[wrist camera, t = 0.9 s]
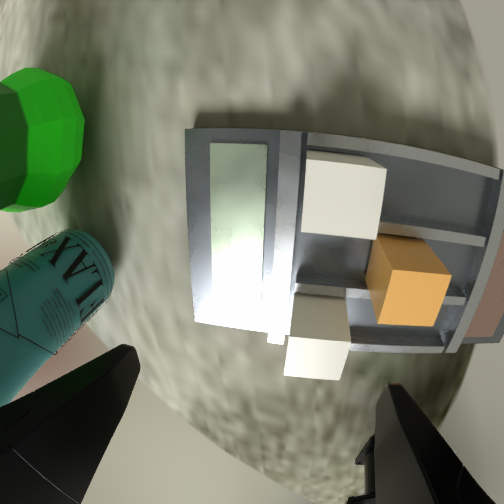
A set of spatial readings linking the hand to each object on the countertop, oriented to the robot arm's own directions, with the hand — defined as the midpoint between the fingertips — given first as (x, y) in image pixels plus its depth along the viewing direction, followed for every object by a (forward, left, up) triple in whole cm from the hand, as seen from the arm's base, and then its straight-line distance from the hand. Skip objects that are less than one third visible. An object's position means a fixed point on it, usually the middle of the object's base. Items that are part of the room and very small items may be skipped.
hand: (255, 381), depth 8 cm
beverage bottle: (-3, +15, -11) cm, 19 cm away
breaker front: (+4, -2, -10) cm, 11 cm away
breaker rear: (-4, -2, -10) cm, 11 cm away
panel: (0, -6, -11) cm, 13 cm away
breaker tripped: (0, -6, -10) cm, 11 cm away
